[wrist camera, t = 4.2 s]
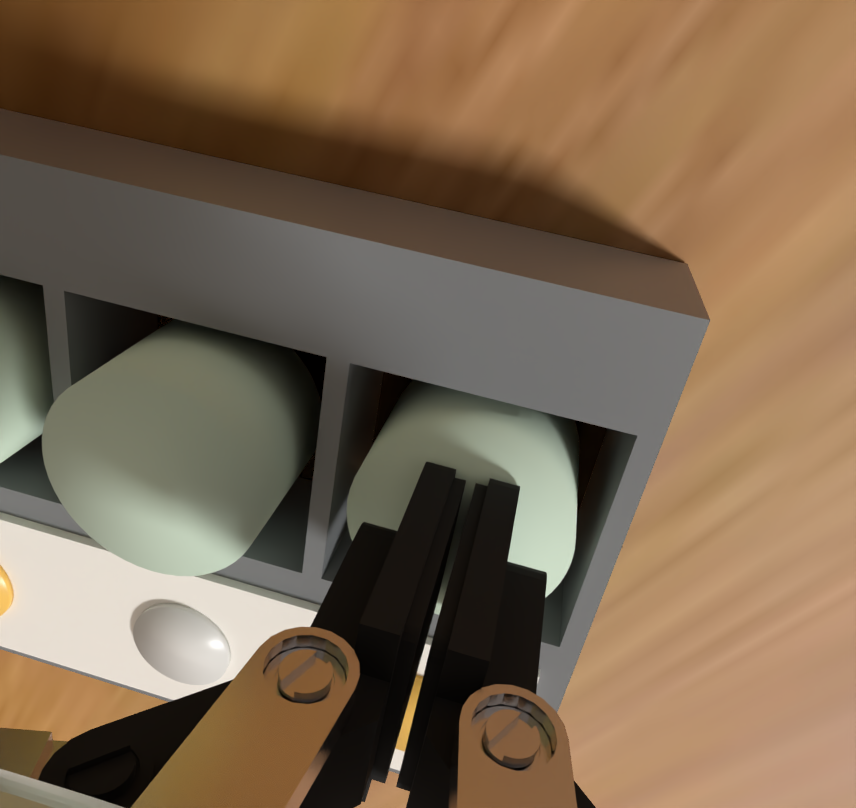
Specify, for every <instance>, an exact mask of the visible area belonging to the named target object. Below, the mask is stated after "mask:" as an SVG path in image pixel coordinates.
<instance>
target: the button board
mask: <svg viewBox="0 0 856 808" xmlns="http://www.w3.org/2000/svg"><path fill="white" fill-rule="evenodd" d="M0 275H4V276H8V277H12V278H16V279H20V280H24V281H27V282H31V283H35V284H39V285H43V292H44V303H45V313H46V324H47V335H48V345H49V356H50V367H51V378H52V388H53V399H54V402H55V401H56V399H57V398H58V397H59V396H60V395H61V394H62V393H63V392H64V391H65V390H66V389H67V388H69V387H71V386H72V385H74V384H75V383H77V382H78V381H80V380H81V379H83V378H84V377H86V376H87V375H89V374H90V373H92V372H93V371H95V370H97V369H98V368H100V367H101V366H103V365H104V364H106V363H107V362H109V361H110V360H112V359H113V358H115V357H116V356H118V355H119V354H121V353H122V352H124V351H126V350H127V349H129V348H130V347H132V346H133V345H135V344H136V343H138V342H139V341H141V340H142V339H144V338H145V337H147V336H148V335H150V334H152V333H153V332H155V331H156V330H158V315H162V316H166V317H170V318H174V319H178V320H182V321H186V322H190V323H194V324H197V325H201V326H205V327H209V328H213V329H217V330H221V331H225V332H229V333H233V334H237V335H241V336H245V337H249V338H253V339H257V340H261V341H265V342H269V343H273V344H277V345H281V346H284V347H288V348H292V349H296V350H300V351H304V352H308V353H312V354H316V355H320V356H324V357H327V359H326V368H325V377H324V386H323V395H322V403H321V412H320V421H319V430H318V438H317V447H316V456H315V465H314V473H313V481H312V480H308V479H304V478H301V477H298V478H297V479H296V480H295V482H294V483H293V485H292V486H291V488H290V489H289V491H288V492H287V494H286V495H285V496H284V498H283V499H282V501H281V502H280V504H279V505H278V507H277V508H276V510H275V511H274V512H273V514H272V515H271V517H270V518H269V520H268V521H267V523H266V524H265V525H264V527H263V528H262V530H261V531H260V533H259V534H258V536H257V537H256V539H255V540H254V541H253V543H252V544H251V546H250V547H249V548H248V550H247V551H246V552H245V553H244V555H242V556H241V557H240V558H239V559H238V560H237V561H236V562H234V563H233V564H231V565H229V566H228V567H226V568H224V569H221V570H219V571H216V572H213V573H209V574H205V575H198V576H174V575H167V574H162V573H158V572H153V571H150V570H147V569H144V568H141V567H138V566H136V565H134V564H132V563H130V562H127V561H125V560H123V559H122V558H120V557H118V556H116V555H115V554H113V553H111V552H110V551H108V550H107V549H106V548H104V547H103V546H101V545H100V544H99V543H97V542H96V541H95V540H94V539H93V538H91V537H90V536H89V535H88V534H87V533H86V532H85V531H84V530H83V529H82V528H81V527H80V526H79V525H78V524H77V523H76V522H75V521H74V519H73V518H72V517H71V516H70V515H69V513H68V512H67V510H66V509H65V508H64V506H63V505H62V503H61V502H60V500H59V498H58V497H57V495H56V493H55V491H54V489H53V487H52V485H51V482H50V480H49V478H48V475H47V471H46V468H45V465H44V459H43V453H42V434H41V435H40V436H38V437H37V438H36V439H34V440H33V441H31V442H30V443H28V444H27V445H26V446H24V447H23V448H21V449H20V450H19V451H17V452H16V453H14V454H13V455H11V456H10V457H9V458H7V459H6V460H4V461H3V462H2V463H0V649H2V650H5V651H8V652H11V653H15V654H18V655H21V656H24V657H27V658H31V659H34V660H37V661H40V662H43V663H47V664H50V665H53V666H56V667H59V668H63V669H66V670H69V671H72V672H75V673H79V674H82V675H85V676H88V677H91V678H95V679H98V680H101V681H104V682H107V683H111V684H114V685H117V686H120V687H123V688H127V689H130V690H133V691H136V692H139V693H142V694H146V695H149V696H152V697H155V698H158V699H162V700H165V701H168V702H171V701H173V700H176V699H179V698H182V697H185V696H188V695H190V694H193V693H196V692H199V691H202V690H205V689H207V688H210V687H213V686H216V685H219V684H222V683H224V682H227V681H230V680H233V679H234V678H235V677H236V675H237V674H238V673H239V672H240V670H241V669H242V668H243V667H244V665H245V664H246V663H247V662H248V660H249V659H250V658H251V657H252V656H253V654H254V653H255V652H256V651H257V649H258V648H259V647H260V646H261V645H262V644H263V643H264V642H265V641H266V640H267V639H269V638H270V637H271V636H273V635H275V634H277V633H279V632H281V631H283V630H286V629H291V628H296V627H310V626H311V624H312V622H313V620H314V618H315V616H316V614H317V612H318V610H319V608H320V606H321V604H322V602H323V600H324V598H325V596H326V594H327V592H328V590H329V588H330V586H331V584H332V582H333V580H334V578H335V576H336V574H337V572H338V570H339V568H340V566H341V564H342V562H343V560H344V558H345V556H346V553H347V551H348V549H349V547H350V545H351V543H352V539H351V537H350V533H349V528H348V524H347V500H348V495H349V491H350V488H351V485H352V483H353V480H354V478H355V476H356V474H357V472H358V470H359V469H360V467H361V465H362V463H363V461H364V460H365V458H366V456H367V454H368V453H369V451H370V449H371V447H372V444H373V437H374V431H375V425H376V418H377V412H378V406H379V399H380V393H381V387H382V381H383V374H384V372H387V373H391V374H395V375H399V376H403V377H407V378H411V379H415V380H419V381H423V382H427V383H431V384H435V385H439V386H443V387H447V388H451V389H454V390H458V391H462V392H466V393H470V394H474V395H478V396H482V397H486V398H490V399H494V400H498V401H502V402H506V403H510V404H514V405H518V406H522V407H526V408H530V409H534V410H537V411H541V412H545V413H549V414H553V415H557V416H561V417H565V418H569V419H573V420H577V421H581V422H585V423H589V424H593V425H597V426H601V427H605V428H607V430H606V433H605V436H604V439H603V442H602V445H601V448H600V451H599V454H598V457H597V460H596V463H595V465H594V468H593V471H592V474H591V477H590V480H589V483H588V486H587V489H586V492H585V495H584V498H583V501H582V503H581V506H580V509H579V512H578V515H577V523H576V541H575V551H574V555H573V559H572V562H571V564H570V567H569V569H568V571H567V573H566V575H565V576H564V578H563V579H562V581H561V582H560V584H559V585H558V586H557V587H556V588H555V589H554V590H553V592H552V593H550V594H549V595H548V596H547V597H546V598H545V605H544V616H543V627H542V638H541V648H540V659H539V670H538V681H537V691H536V695H538V696H539V697H541V698H543V699H544V700H545V701H546V702H547V703H548V704H549V705H550V706H551V707H552V708H553V709H554V710H555V711H556V712H557V711H558V709H559V706H560V704H561V701H562V699H563V696H564V694H565V691H566V688H567V686H568V683H569V681H570V678H571V676H572V673H573V670H574V668H575V665H576V663H577V660H578V658H579V655H580V653H581V650H582V647H583V645H584V642H585V640H586V637H587V635H588V632H589V629H590V627H591V624H592V622H593V619H594V617H595V614H596V612H597V609H598V606H599V604H600V601H601V599H602V596H603V594H604V591H605V589H606V586H607V583H608V581H609V578H610V576H611V573H612V571H613V568H614V565H615V563H616V560H617V558H618V555H619V553H620V550H621V548H622V545H623V542H624V540H625V537H626V535H627V532H628V530H629V527H630V524H631V522H632V519H633V517H634V514H635V512H636V509H637V507H638V504H639V501H640V499H641V496H642V494H643V491H644V489H645V486H646V483H647V481H648V478H649V476H650V473H651V471H652V468H653V466H654V463H655V460H656V458H657V455H658V453H659V450H660V448H661V445H662V442H663V440H664V437H665V435H666V432H667V430H668V427H669V425H670V422H671V419H672V417H673V414H674V412H675V409H676V407H677V404H678V401H679V399H680V396H681V394H682V391H683V389H684V386H685V384H686V381H687V378H688V376H689V373H690V371H691V368H692V366H693V363H694V360H695V358H696V355H697V353H698V350H699V348H700V345H701V343H702V340H703V337H704V335H705V332H706V330H707V327H708V325H709V322H710V319H709V316H708V314H707V311H706V309H705V306H704V304H703V301H702V299H701V296H700V294H699V291H698V289H697V287H696V284H695V282H694V279H693V277H692V274H691V272H690V269H689V267H688V264H686V263H681V262H677V261H673V260H668V259H664V258H659V257H655V256H650V255H646V254H642V253H637V252H633V251H628V250H624V249H620V248H615V247H611V246H606V245H602V244H597V243H593V242H589V241H584V240H580V239H575V238H571V237H566V236H562V235H558V234H553V233H549V232H544V231H540V230H536V229H531V228H527V227H522V226H518V225H513V224H509V223H505V222H500V221H496V220H491V219H487V218H483V217H478V216H474V215H469V214H465V213H460V212H456V211H452V210H447V209H443V208H438V207H434V206H429V205H425V204H421V203H416V202H412V201H407V200H403V199H399V198H394V197H390V196H385V195H381V194H376V193H372V192H368V191H363V190H359V189H354V188H350V187H346V186H341V185H337V184H332V183H328V182H323V181H319V180H315V179H310V178H306V177H301V176H297V175H293V174H288V173H284V172H279V171H275V170H270V169H266V168H262V167H257V166H253V165H248V164H244V163H239V162H235V161H231V160H226V159H222V158H217V157H213V156H209V155H204V154H200V153H195V152H191V151H186V150H182V149H178V148H173V147H169V146H164V145H160V144H156V143H151V142H147V141H142V140H138V139H133V138H129V137H125V136H120V135H116V134H111V133H107V132H102V131H98V130H94V129H89V128H85V127H80V126H76V125H72V124H67V123H63V122H58V121H54V120H49V119H45V118H41V117H36V116H32V115H27V114H23V113H19V112H14V111H10V110H5V109H1V108H0ZM438 618H439V615H438V614H435V613H434V615H433V618H432V622H431V625H430V629H429V632H428V636H427V639H426V643H425V646H424V650H423V653H422V657H421V660H420V664H419V667H418V671H417V674H416V678H415V681H414V685H413V688H412V692H411V695H410V699H409V702H408V705H407V709H406V712H405V716H404V719H403V723H402V726H401V730H400V733H399V737H398V740H397V744H396V747H395V751H394V754H393V758H392V761H391V765H390V768H389V771H392V772H395V773H398V774H399V773H400V769H401V765H402V761H403V757H404V753H405V749H406V745H407V741H408V737H409V733H410V729H411V724H412V720H413V716H414V712H415V708H416V704H417V700H418V696H419V692H420V688H421V684H422V680H423V676H424V671H425V667H426V663H427V659H428V655H429V651H430V647H431V644H432V640H433V636H434V632H435V629H436V625H437V621H438Z"/></svg>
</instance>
